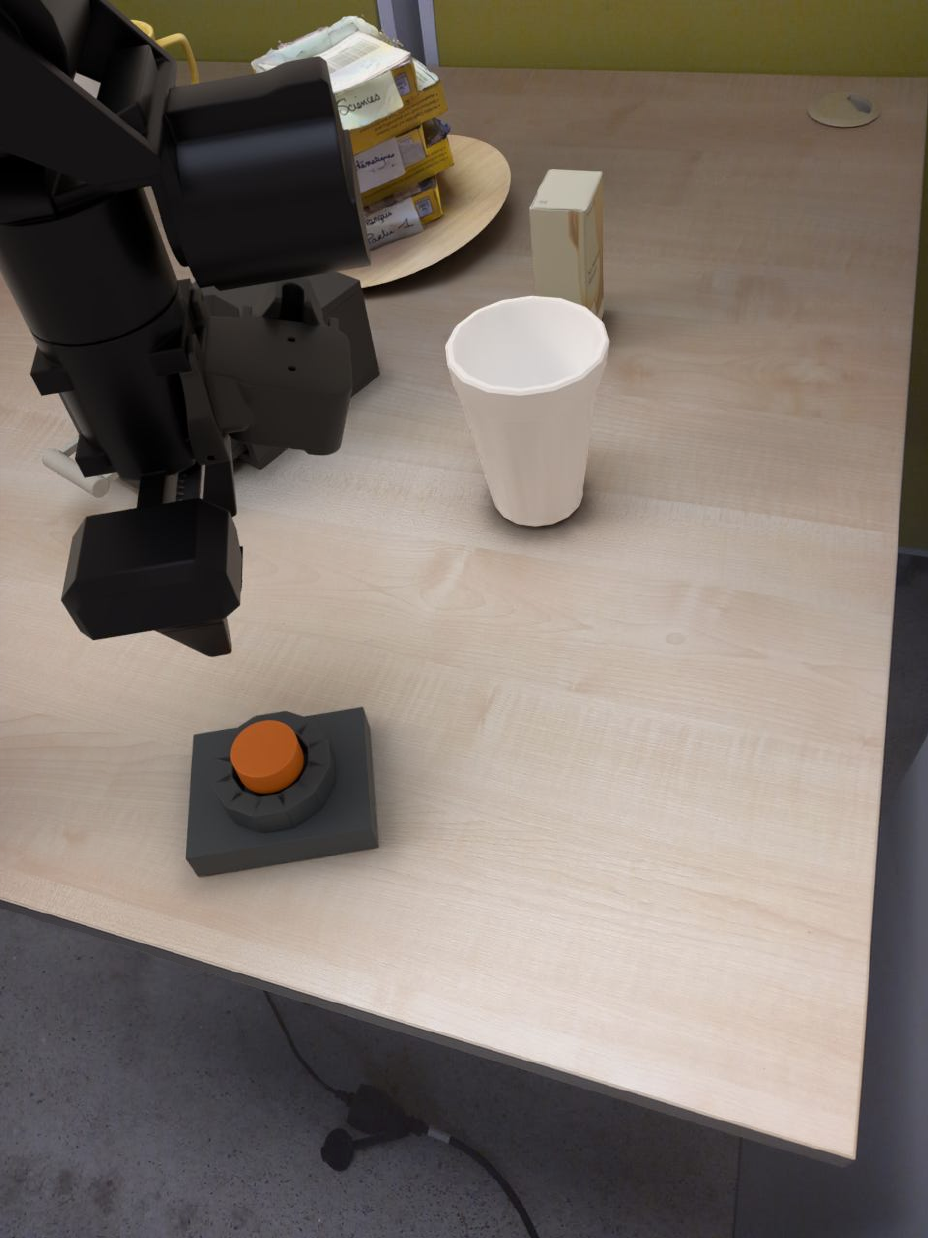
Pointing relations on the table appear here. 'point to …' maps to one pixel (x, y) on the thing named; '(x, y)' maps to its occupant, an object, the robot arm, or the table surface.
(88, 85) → the mug
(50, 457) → the drawer
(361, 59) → the stack of yellow boxes
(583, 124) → the table surface
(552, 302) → the cup
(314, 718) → the control block
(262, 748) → the button
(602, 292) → the cosmetic box
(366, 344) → the black box
